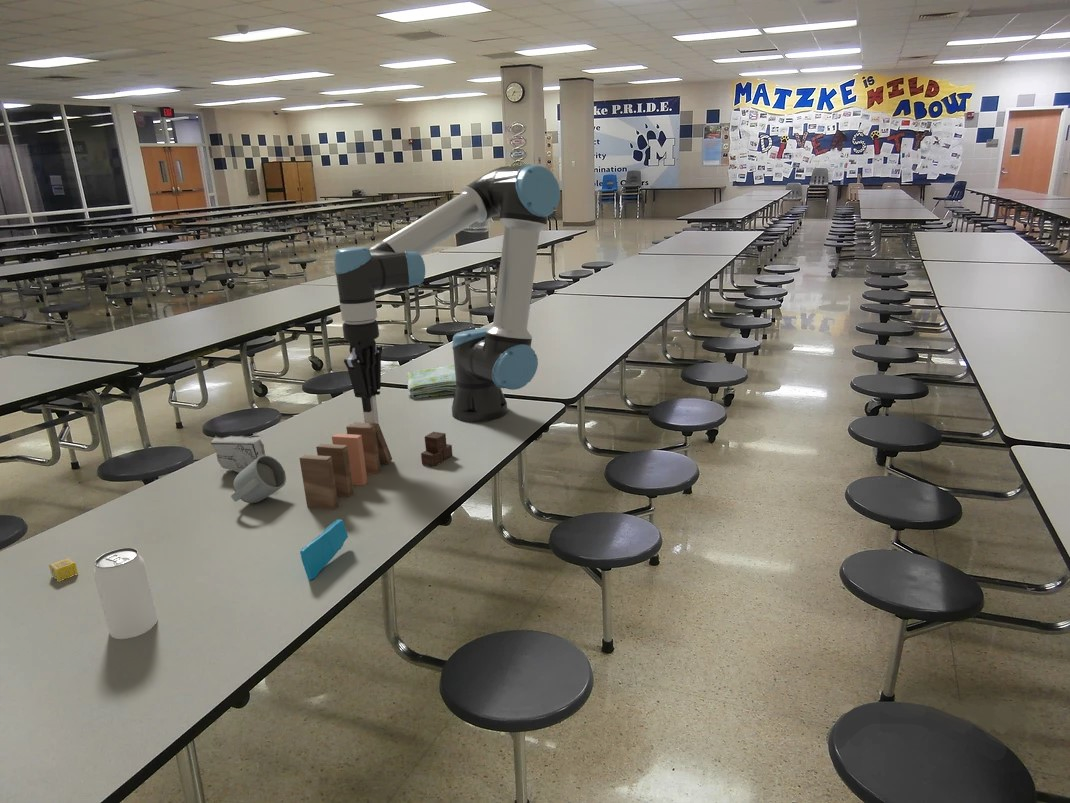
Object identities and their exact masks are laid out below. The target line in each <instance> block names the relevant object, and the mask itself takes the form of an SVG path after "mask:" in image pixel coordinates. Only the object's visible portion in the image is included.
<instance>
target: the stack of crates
mask: <svg viewBox="0 0 1070 803" xmlns="http://www.w3.org/2000/svg"><path fill="white" fill-rule="evenodd" d="M446 436H447V435H446V433H444V432H438V431H432V432H430V433H428V434H427V435H425V436H424V444H425V445H424V446H425V451H422V452H420V459H421V465H422V464H423V466H427V465H428V467H432V466H433V468H435V467H436V466H438V465H439V463H440V464H441V463H443V462H445V461H447V460H448V459H449V458H452V457H453V447H452V446H453V445H452V444H448V443H447V437H446ZM444 460H445V461H444ZM434 466H435V467H434Z"/></svg>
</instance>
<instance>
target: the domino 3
mask: <svg viewBox="0 0 1070 803" xmlns="http://www.w3.org/2000/svg"><path fill="white" fill-rule="evenodd" d="M331 441H332V444H335V445H347V449H348V456H349V463H350V471H351V478H352V485H353V486H354V485H355V486H365V485H366V484H367V483H368V476H367V474H368V473H366V467H365V459H364V451H363V443H362V435H353V434H347V433H335V434H333V435H332V436H331Z"/></svg>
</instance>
